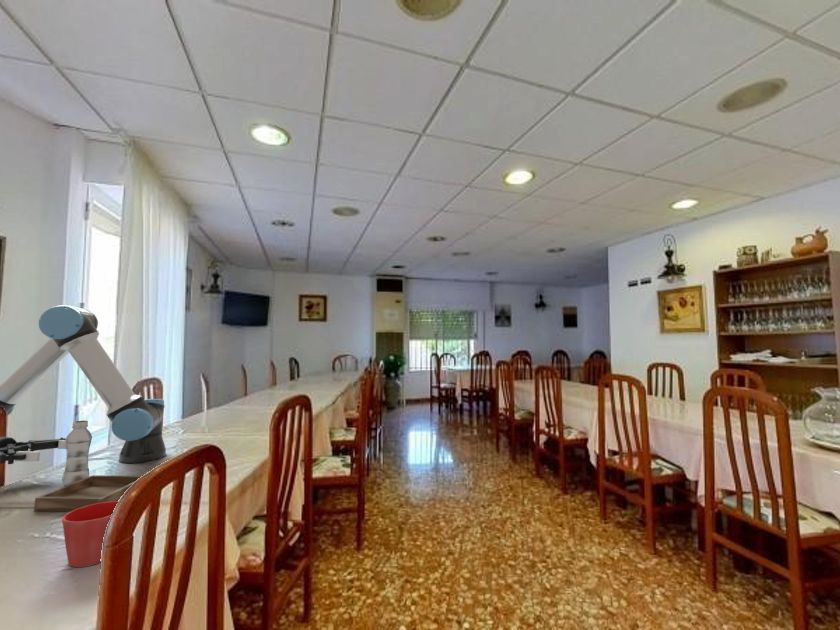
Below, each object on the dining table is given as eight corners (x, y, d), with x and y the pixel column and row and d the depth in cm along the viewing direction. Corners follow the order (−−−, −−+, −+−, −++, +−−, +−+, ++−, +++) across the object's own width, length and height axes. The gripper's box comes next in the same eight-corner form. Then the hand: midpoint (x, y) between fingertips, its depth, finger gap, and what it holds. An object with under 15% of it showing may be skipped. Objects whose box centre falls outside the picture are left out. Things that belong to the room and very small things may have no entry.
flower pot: (85, 545, 86) (89, 500, 87) (136, 543, 87) (139, 500, 88) (43, 573, 75) (47, 522, 76) (101, 571, 76) (105, 521, 77)
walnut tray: (91, 486, 120) (92, 475, 120) (148, 487, 120) (148, 476, 120) (33, 511, 102) (35, 498, 102) (100, 512, 102) (101, 499, 102)
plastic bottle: (72, 489, 117) (78, 424, 119) (55, 487, 119) (61, 422, 120) (94, 482, 123) (99, 420, 125) (77, 480, 125) (83, 419, 126)
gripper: (32, 450, 134) (92, 451, 134) (-57, 474, 109) (17, 475, 109) (34, 428, 134) (93, 429, 134) (-54, 447, 109) (19, 448, 109)
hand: (59, 450), depth 121 cm, fingers open, 13 cm apart
